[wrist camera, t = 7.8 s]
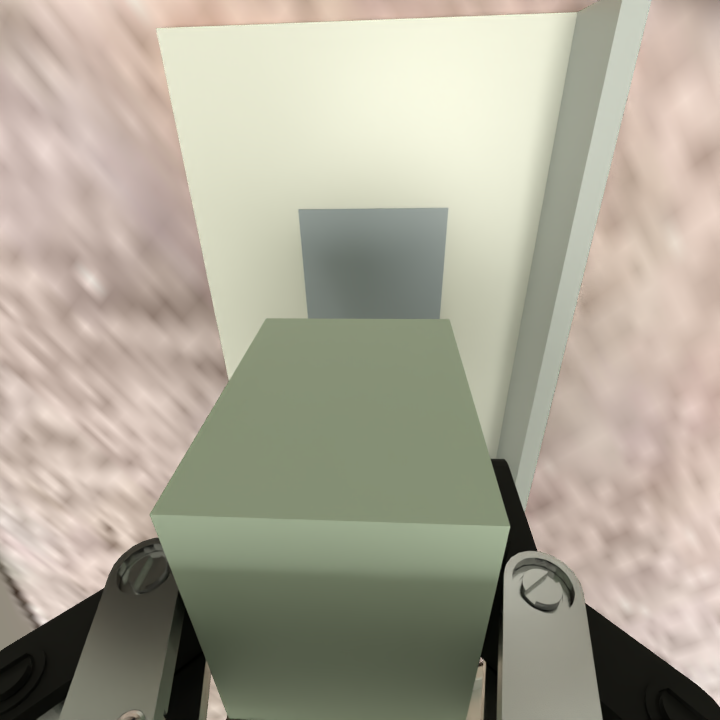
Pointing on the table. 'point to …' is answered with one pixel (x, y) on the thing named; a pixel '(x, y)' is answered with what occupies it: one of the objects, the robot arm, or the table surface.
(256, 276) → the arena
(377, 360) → the block
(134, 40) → the table surface
